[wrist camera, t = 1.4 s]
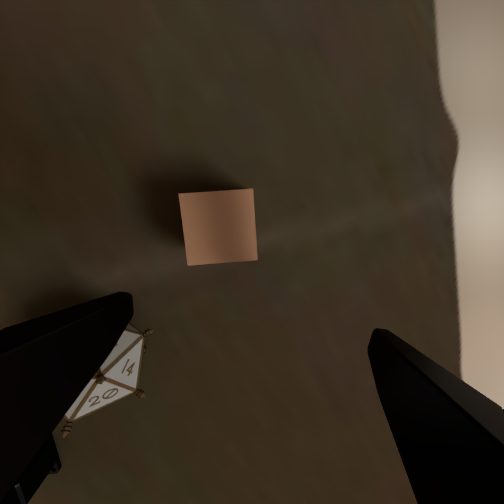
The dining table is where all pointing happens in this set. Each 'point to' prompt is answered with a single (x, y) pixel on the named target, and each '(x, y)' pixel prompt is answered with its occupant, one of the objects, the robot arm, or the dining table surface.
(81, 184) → the dining table surface
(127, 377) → the game die
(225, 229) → the terracotta block
